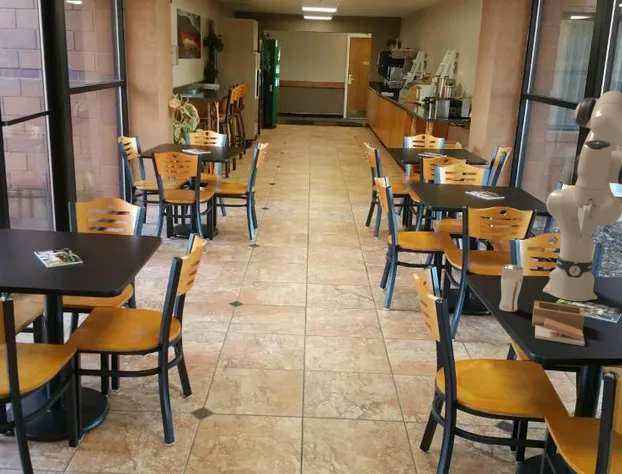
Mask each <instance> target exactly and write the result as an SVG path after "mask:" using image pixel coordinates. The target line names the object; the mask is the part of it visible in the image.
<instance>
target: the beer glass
mask: <svg viewBox="0 0 622 474" xmlns="http://www.w3.org/2000/svg"><path fill="white" fill-rule="evenodd" d="M501 271H502V272H501V276H500V291H501V296H500V298H501V300H500V302H499V306H498V308H499V310H502V311H504V312H511V313H514V312H516V311H518V297H519V294H520V291H521V288H522V284H523V279H524V267H522V266H521V265H517V264H504V265H503V266H502V270H501Z"/></svg>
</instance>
